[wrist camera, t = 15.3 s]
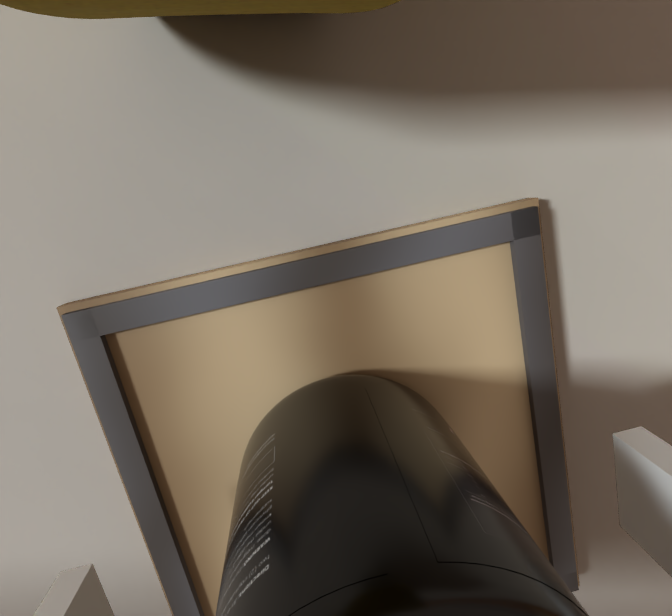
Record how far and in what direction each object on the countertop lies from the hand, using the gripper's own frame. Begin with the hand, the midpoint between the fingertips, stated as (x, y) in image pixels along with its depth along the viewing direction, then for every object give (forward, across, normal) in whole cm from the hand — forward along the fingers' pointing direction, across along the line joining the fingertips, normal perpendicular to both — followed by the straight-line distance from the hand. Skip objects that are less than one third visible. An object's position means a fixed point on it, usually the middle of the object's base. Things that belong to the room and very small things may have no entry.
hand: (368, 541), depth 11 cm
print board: (+4, 0, 0) cm, 4 cm away
